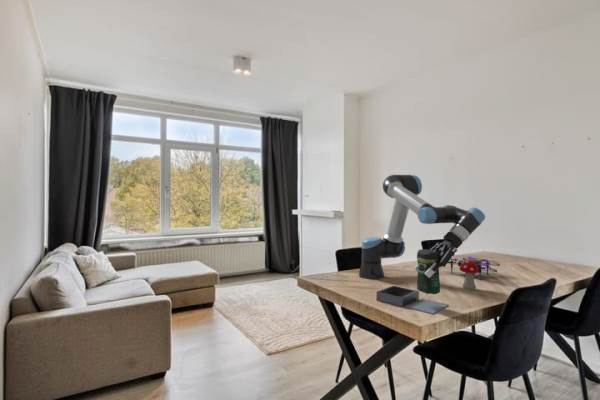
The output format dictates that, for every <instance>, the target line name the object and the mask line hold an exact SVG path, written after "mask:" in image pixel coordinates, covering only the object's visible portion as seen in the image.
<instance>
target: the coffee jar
mask: <svg viewBox="0 0 600 400" xmlns="http://www.w3.org/2000/svg"><path fill="white" fill-rule="evenodd" d="M439 256H440V254H439V253H438V252H436V251H432V250H430V249H427V248H425V249H418V250H417V252H416V259H417V265H418V272H417V279H416V280H417V281H416V289H417V291H419V292H421V293H424V294H427V295H437V294H439V293H441V283H440V282H441V281H440V268H439V269H438V270H437V271H436V272H435V273H434V274H433V275H432V276H431V277H430V278H428V277H427V276H426V275H425V274H424V273H425V272H426V271H427V270H428V269H429V268H430V267H431V266H432V265H433V264H434V263H436V262H435V261H437V260H438V258H439ZM436 264H437V263H436Z"/></svg>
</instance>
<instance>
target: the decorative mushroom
mask: <svg viewBox="0 0 600 400" xmlns="http://www.w3.org/2000/svg"><path fill="white" fill-rule="evenodd" d="M459 271H460V272H463V273H465V275H464V281H463V283H462V288H463V289H464V290H467V291H475V290H476V289H477V286H476V284H475V277H474V276H473V273H475V274H479V268H478V267H477V265H476V263H474V262H473V261H470V260H466V261H464V262H463V263H462V264H461V266H460V267H459Z"/></svg>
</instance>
